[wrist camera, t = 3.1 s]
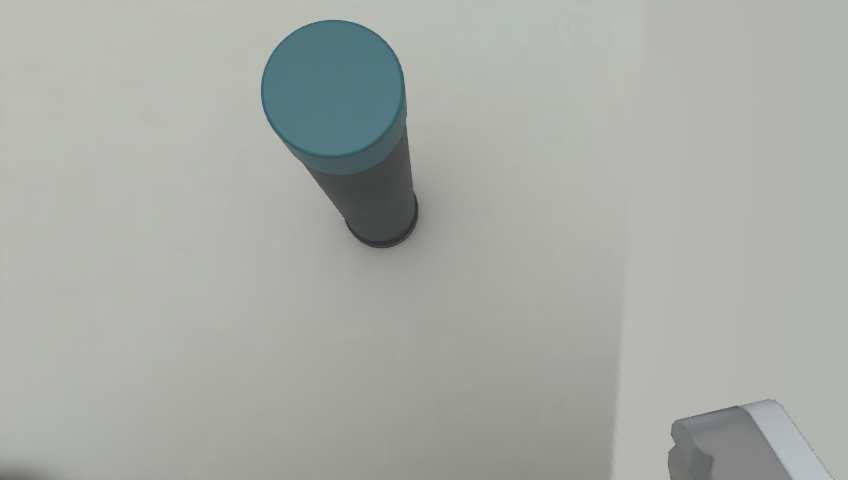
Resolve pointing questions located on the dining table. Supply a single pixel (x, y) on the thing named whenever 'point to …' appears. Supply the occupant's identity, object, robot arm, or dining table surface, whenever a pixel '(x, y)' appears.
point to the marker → (346, 124)
